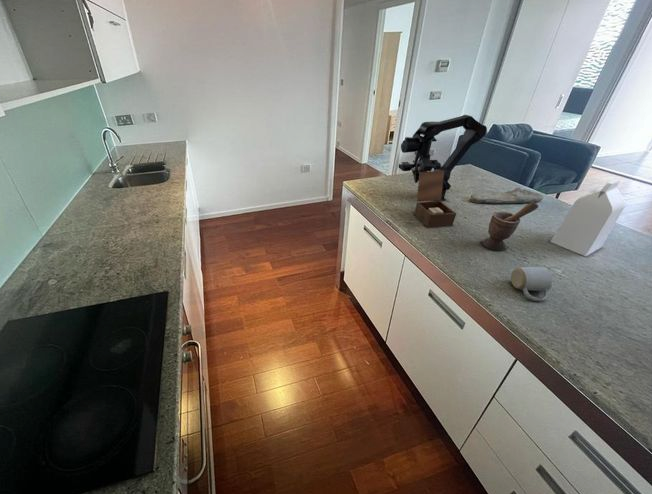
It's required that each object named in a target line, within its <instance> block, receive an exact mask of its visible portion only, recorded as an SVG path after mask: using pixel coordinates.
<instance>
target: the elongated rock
mask: <svg viewBox="0 0 652 494" xmlns="http://www.w3.org/2000/svg"><path fill="white" fill-rule="evenodd" d="M543 199H544V195H543V194H541V193H538V192H534V191H532V190H529V189H526V188H525V189H524V188H521V187H516V188H514V189H512V190H507V191H505V192H481V193H478V192H476V193H473V194H471V195H470V199H469V200H470V201H471V202H472V203H475V204H481V203H482V204H514V203H517V204H525V203H527V204H529V203H531V202H535V203H537V202H541V201H542V200H543Z"/></svg>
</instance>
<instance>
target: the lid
mask: <svg viewBox="0 0 652 494" xmlns="http://www.w3.org/2000/svg"><path fill="white" fill-rule="evenodd" d="M443 178H444V171H434V170H431V171H427V172H419V181H418V182H417V184H418V185H417V196H416V203H417V202H432V201H436V200H440V201H442V200H441V196H442V187H443Z"/></svg>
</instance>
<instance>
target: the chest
mask: <svg viewBox="0 0 652 494" xmlns="http://www.w3.org/2000/svg"><path fill="white" fill-rule="evenodd" d="M429 208H440V209H441V210H442V211H443V212H444V213H443V214H431V213H430V212H429V211H428V209H429ZM413 215H414V216H415V217H416V218H417V219H418V220H419V221H421V223H423V225H425V227H426V228H427V229H428V228H441V227H453V225H454V222H455V219H456V216H457V212H455V211H454V210H453V209H451V208H450V207H449V206H447V205H446V204H445V203H444V202H443V201H442V200H440V201H421V202H417V201H416V205H415V209H414V213H413Z"/></svg>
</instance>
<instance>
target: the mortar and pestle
mask: <svg viewBox="0 0 652 494" xmlns="http://www.w3.org/2000/svg"><path fill="white" fill-rule="evenodd" d="M538 208H539V204H538V203H537V202H531V203H527V204H526V205H525V206H523V207H522V208H521V209H520V210H518V211H517V212H516V213H511V212H507V211H494V212H493V213H492V216H491V218H490V220H489V223H488V230H487V232H488V235H489V237H486V238H485V239H483V241H482V245H483V246H484V247H485V248H487V249H488V250H492V251H499V252H501V251H504V250H505V248H506V243H505V242H504V241H505V240H508V239H509V238H510V237H511V236H512V235H513V234H514V232H516V230H517V229H518V227H519V224H520V223H521V218H523V217H524V216H526V215H528V214H530V213H532V212H534V211H536V210H537V209H538Z"/></svg>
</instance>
